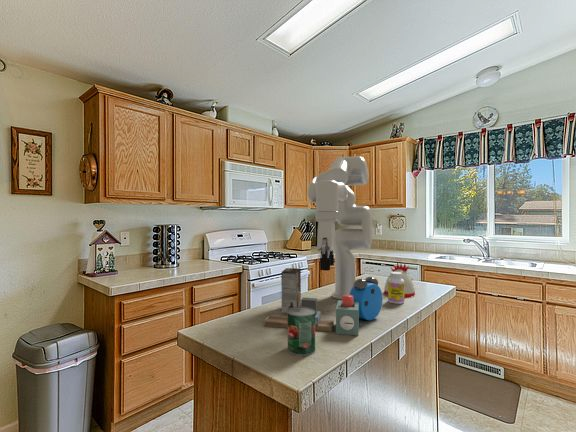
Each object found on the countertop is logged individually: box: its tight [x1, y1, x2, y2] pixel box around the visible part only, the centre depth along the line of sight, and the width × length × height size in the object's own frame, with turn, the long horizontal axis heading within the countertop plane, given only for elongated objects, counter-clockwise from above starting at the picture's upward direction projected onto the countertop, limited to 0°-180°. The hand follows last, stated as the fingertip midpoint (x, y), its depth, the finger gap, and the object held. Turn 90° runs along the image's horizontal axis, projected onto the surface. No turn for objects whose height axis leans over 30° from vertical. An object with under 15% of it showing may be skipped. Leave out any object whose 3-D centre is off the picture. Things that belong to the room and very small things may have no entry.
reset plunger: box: [341, 295, 353, 307], centre depth 103 cm, size 4×4×5 cm
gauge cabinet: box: [335, 299, 360, 336], centre depth 102 cm, size 10×7×8 cm, turn 166°
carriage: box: [301, 297, 322, 325], centre depth 106 cm, size 8×7×7 cm
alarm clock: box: [350, 276, 384, 321], centre depth 113 cm, size 13×6×15 cm, turn 130°
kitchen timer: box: [383, 262, 416, 298], centre depth 149 cm, size 14×14×15 cm
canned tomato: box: [287, 307, 316, 357], centre depth 87 cm, size 8×8×11 cm
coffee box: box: [280, 267, 302, 314], centre depth 124 cm, size 9×6×16 cm
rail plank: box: [264, 314, 335, 333], centre depth 107 cm, size 7×23×2 cm, turn 76°
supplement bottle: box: [387, 271, 405, 305], centre depth 134 cm, size 7×7×13 cm
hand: (327, 267), depth 104 cm, fingers open, 9 cm apart
